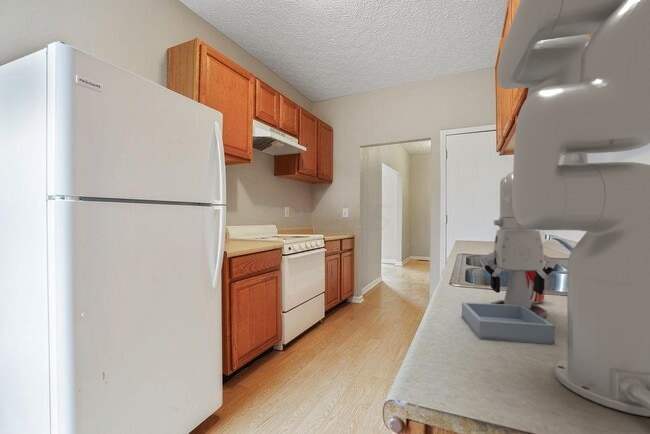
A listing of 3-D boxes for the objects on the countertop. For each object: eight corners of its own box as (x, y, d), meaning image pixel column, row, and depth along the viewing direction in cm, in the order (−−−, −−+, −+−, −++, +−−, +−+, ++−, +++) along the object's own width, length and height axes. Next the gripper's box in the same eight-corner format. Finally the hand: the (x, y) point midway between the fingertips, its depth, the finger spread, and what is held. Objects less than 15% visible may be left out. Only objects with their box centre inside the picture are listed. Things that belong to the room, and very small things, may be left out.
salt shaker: (504, 314, 73) (504, 261, 73) (503, 307, 78) (503, 258, 78) (533, 317, 70) (533, 263, 70) (529, 311, 75) (529, 260, 75)
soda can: (509, 297, 88) (509, 257, 88) (533, 297, 88) (533, 257, 88) (524, 304, 81) (524, 261, 81) (550, 304, 81) (550, 261, 81)
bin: (554, 344, 56) (554, 325, 56) (479, 338, 58) (479, 321, 58) (522, 320, 69) (522, 305, 69) (461, 316, 71) (461, 302, 71)
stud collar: (554, 321, 68) (554, 315, 68) (502, 318, 70) (502, 312, 70) (530, 307, 79) (530, 301, 79) (486, 305, 81) (486, 299, 81)
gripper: (485, 225, 72) (484, 294, 73) (565, 225, 69) (564, 298, 69) (475, 224, 80) (475, 287, 80) (547, 224, 76) (547, 290, 77)
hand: (516, 292), depth 75 cm, fingers open, 9 cm apart
